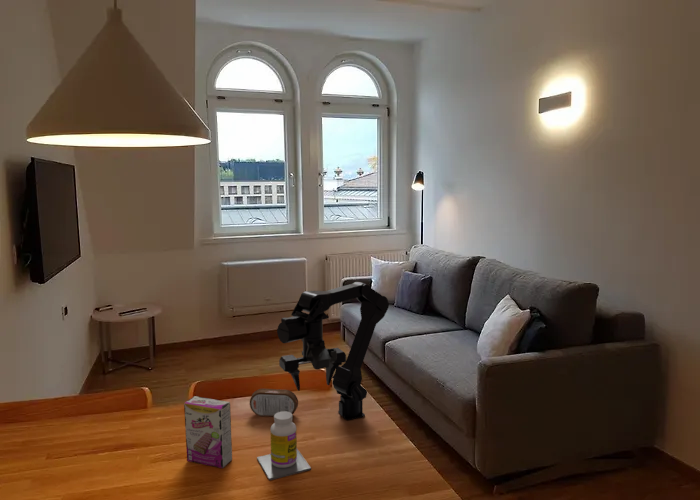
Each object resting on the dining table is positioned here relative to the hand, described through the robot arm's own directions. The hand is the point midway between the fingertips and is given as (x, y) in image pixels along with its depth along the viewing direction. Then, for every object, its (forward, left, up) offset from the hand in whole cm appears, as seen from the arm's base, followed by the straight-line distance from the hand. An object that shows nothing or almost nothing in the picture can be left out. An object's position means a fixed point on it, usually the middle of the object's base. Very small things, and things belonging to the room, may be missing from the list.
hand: (313, 387), depth 153 cm
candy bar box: (+31, +4, -13) cm, 34 cm away
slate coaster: (+14, +14, -13) cm, 24 cm away
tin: (+8, -14, -13) cm, 21 cm away
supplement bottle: (+14, +14, -13) cm, 23 cm away
